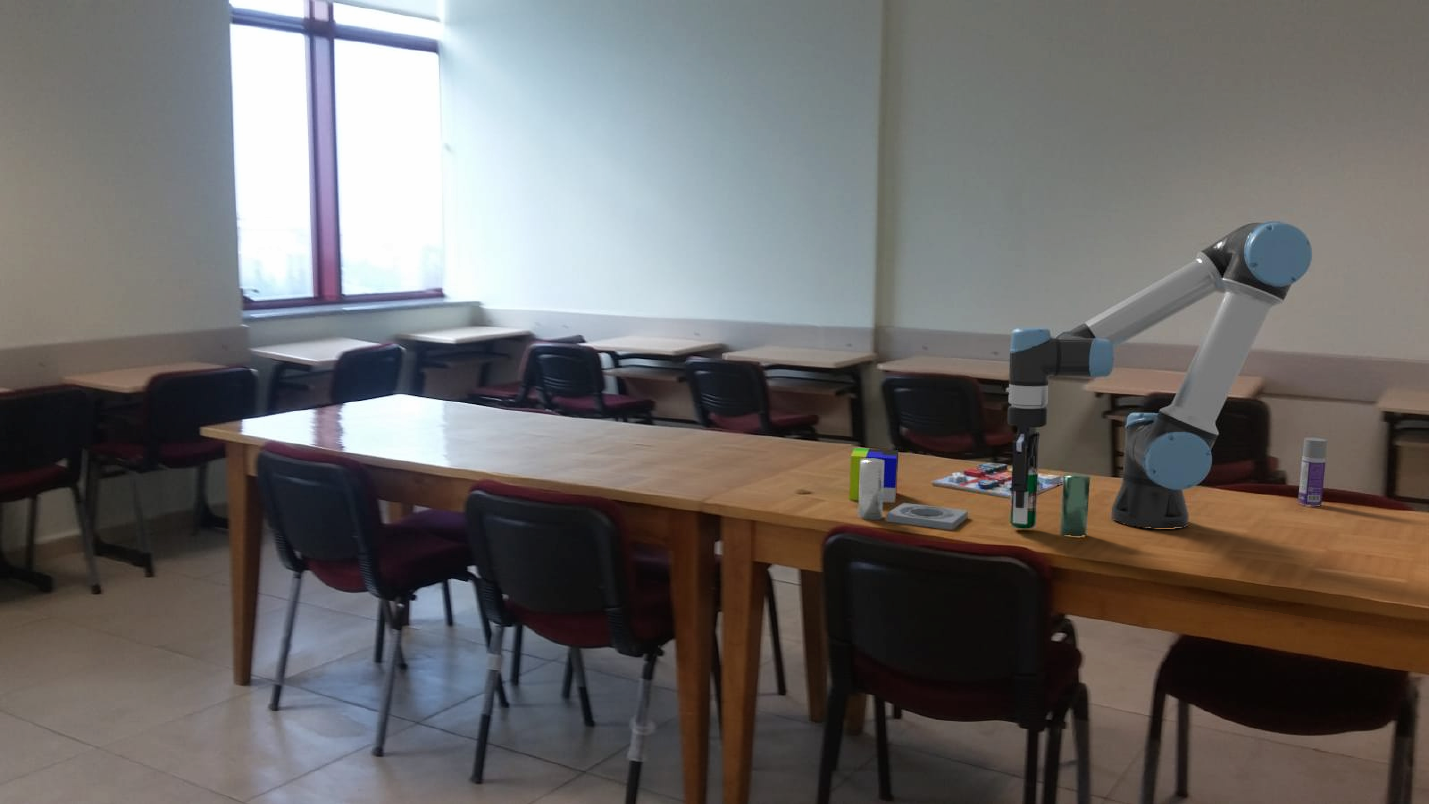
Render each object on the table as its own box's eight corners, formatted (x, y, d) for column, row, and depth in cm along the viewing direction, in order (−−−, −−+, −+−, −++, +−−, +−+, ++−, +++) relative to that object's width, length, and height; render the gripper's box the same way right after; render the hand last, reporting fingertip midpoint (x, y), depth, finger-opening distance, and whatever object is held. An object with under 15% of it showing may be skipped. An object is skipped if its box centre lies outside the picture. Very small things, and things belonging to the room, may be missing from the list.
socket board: (967, 517, 240) (968, 510, 240) (951, 530, 229) (952, 522, 229) (903, 509, 246) (903, 502, 246) (885, 521, 236) (885, 514, 235)
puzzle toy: (894, 502, 253) (896, 458, 251) (849, 500, 255) (850, 455, 253) (896, 493, 263) (898, 450, 261) (852, 490, 265) (854, 448, 263)
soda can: (1031, 530, 226) (1033, 471, 225) (1006, 527, 229) (1008, 468, 227) (1039, 525, 231) (1041, 466, 229) (1014, 521, 233) (1016, 464, 232)
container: (1323, 504, 258) (1330, 439, 256) (1317, 508, 255) (1324, 442, 252) (1301, 501, 261) (1307, 436, 259) (1295, 504, 258) (1301, 439, 256)
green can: (1088, 533, 228) (1092, 475, 227) (1083, 539, 224) (1087, 479, 222) (1062, 530, 231) (1066, 472, 229) (1057, 536, 226) (1061, 476, 225)
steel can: (885, 515, 240) (887, 459, 239) (877, 520, 236) (879, 463, 234) (862, 512, 243) (864, 457, 241) (854, 517, 238) (856, 461, 236)
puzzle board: (1021, 503, 257) (1022, 491, 257) (930, 487, 271) (930, 477, 271) (1073, 482, 281) (1074, 472, 280) (987, 469, 295) (987, 459, 295)
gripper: (1018, 398, 236) (1014, 508, 239) (997, 410, 220) (993, 527, 223) (1055, 401, 233) (1051, 512, 236) (1037, 412, 217) (1032, 532, 220)
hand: (1023, 519), depth 230 cm, fingers closed on soda can, 5 cm apart
